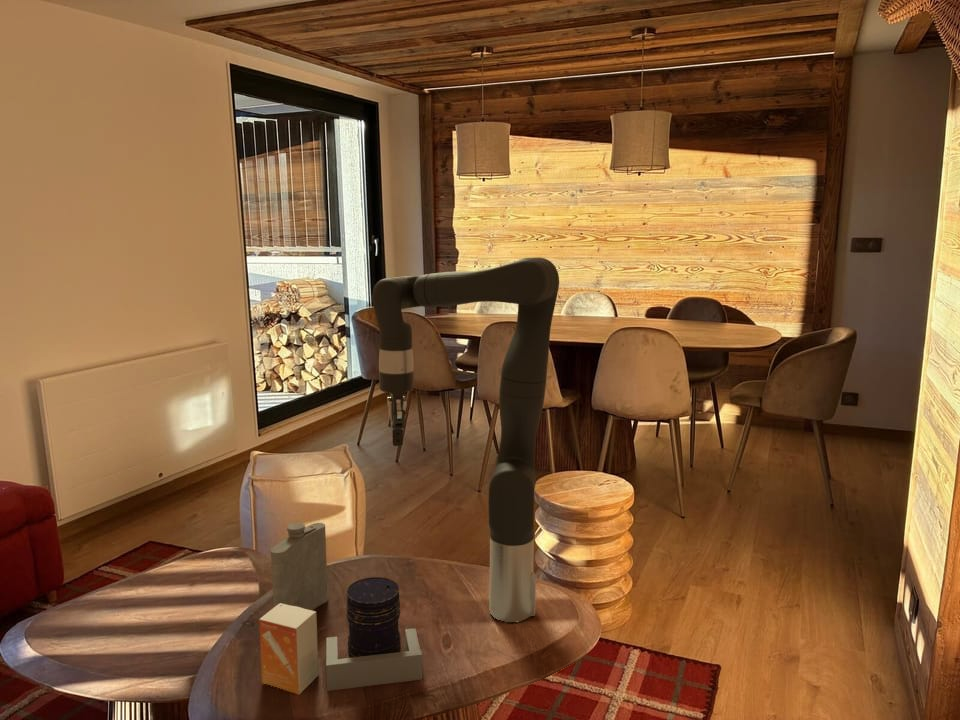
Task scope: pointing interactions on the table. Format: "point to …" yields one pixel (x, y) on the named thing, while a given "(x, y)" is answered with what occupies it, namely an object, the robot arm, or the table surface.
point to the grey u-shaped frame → (373, 666)
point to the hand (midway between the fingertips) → (397, 444)
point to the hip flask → (300, 567)
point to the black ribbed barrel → (373, 617)
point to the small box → (289, 647)
